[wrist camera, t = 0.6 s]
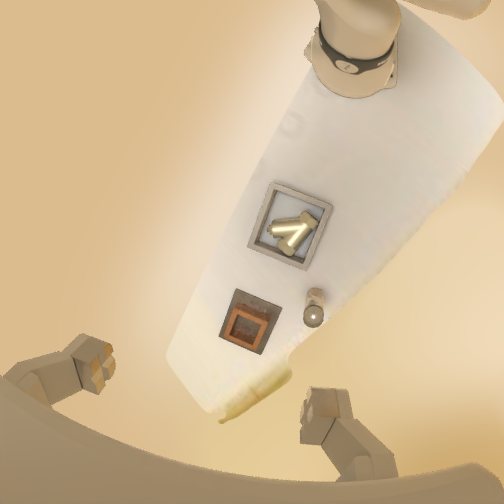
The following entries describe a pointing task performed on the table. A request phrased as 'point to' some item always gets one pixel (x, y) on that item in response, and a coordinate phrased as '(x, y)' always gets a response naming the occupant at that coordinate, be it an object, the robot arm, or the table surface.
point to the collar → (249, 321)
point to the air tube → (314, 308)
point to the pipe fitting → (292, 231)
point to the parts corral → (261, 219)
